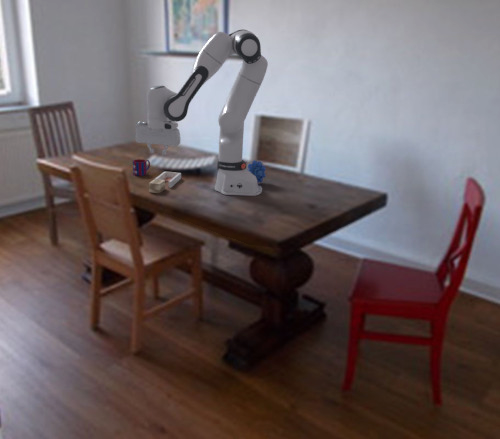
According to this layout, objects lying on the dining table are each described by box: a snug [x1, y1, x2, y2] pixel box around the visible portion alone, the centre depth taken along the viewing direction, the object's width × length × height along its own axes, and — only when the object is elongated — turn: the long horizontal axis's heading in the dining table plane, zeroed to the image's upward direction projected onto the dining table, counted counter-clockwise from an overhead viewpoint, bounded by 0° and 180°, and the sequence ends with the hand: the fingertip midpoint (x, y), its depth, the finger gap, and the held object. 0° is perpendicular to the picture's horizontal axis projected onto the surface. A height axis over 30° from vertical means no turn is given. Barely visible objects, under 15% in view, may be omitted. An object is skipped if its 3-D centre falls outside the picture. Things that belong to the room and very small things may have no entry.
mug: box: [132, 158, 151, 177], centre depth 280 cm, size 7×10×7 cm
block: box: [148, 178, 166, 194], centre depth 255 cm, size 5×7×4 cm
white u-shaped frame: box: [154, 171, 182, 189], centre depth 267 cm, size 9×16×3 cm, turn 169°
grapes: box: [247, 160, 267, 183], centre depth 269 cm, size 12×7×12 cm, turn 127°
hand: (158, 153), depth 250 cm, fingers open, 4 cm apart
